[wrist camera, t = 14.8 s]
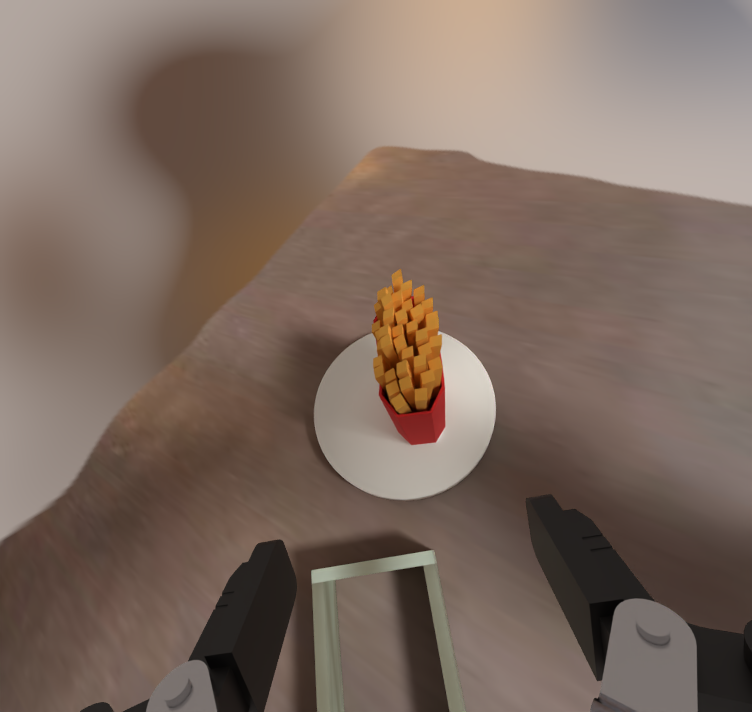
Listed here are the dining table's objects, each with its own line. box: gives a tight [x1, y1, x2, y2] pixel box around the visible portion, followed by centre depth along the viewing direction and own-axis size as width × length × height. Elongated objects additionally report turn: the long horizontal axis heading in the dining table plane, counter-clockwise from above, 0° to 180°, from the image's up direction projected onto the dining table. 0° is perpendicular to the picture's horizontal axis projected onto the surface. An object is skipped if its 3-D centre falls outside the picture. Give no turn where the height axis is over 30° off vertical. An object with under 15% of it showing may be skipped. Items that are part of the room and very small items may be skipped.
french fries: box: [372, 269, 445, 445], centre depth 26 cm, size 9×4×13 cm, turn 4°
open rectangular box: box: [311, 550, 466, 712], centre depth 23 cm, size 9×14×3 cm, turn 8°
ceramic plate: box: [314, 331, 496, 501], centre depth 32 cm, size 16×16×2 cm
